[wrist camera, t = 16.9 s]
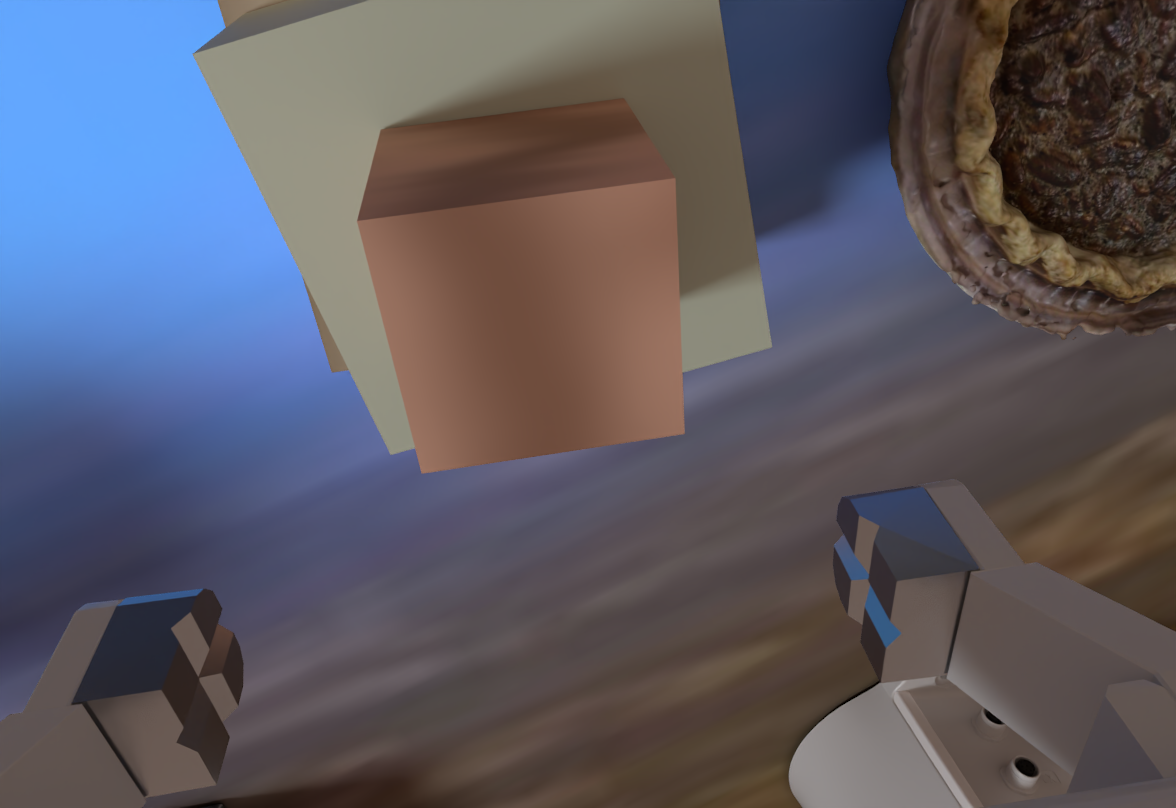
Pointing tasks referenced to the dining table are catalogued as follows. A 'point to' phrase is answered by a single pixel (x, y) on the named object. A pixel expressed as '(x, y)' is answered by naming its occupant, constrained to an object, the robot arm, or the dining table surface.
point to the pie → (1042, 155)
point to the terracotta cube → (527, 282)
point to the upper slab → (474, 89)
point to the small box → (215, 806)
